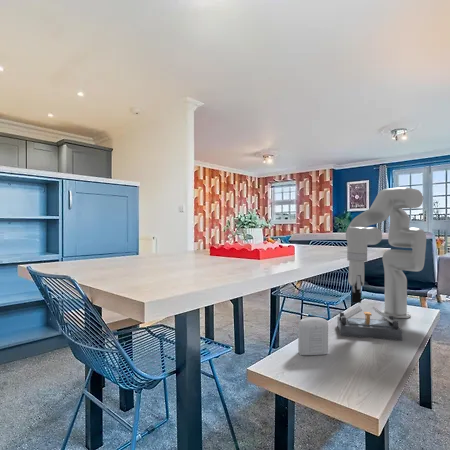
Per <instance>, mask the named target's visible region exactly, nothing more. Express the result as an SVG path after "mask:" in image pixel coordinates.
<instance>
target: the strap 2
mask: <svg viewBox="0 0 450 450" xmlns="http://www.w3.org/2000/svg"><path fill="white" fill-rule="evenodd" d="M372 309H373V311H375V313H377V314H378V315H380V316H381V317H382V318H384V319H385V320H388V321H390V322H391V323H392V324H393V321H395V320H393V319H390V318H389V316H386V315H384V314H383V313H382V312H381V310H379V309H377V308H376V307H375V306H373V307H372Z"/></svg>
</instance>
